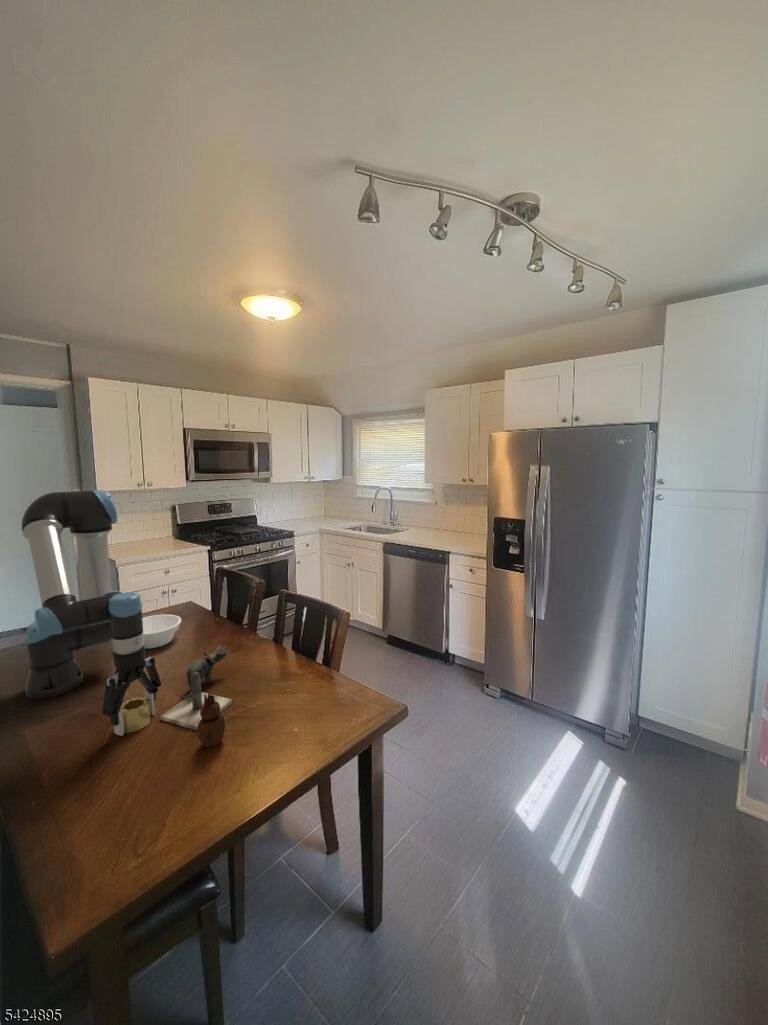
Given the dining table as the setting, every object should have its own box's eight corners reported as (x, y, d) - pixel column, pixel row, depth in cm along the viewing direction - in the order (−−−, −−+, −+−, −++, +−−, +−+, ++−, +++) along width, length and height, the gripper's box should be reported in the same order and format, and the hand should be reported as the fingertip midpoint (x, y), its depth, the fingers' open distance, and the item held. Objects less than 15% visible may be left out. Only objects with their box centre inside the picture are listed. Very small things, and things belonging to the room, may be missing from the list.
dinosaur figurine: (187, 710, 127) (185, 675, 126) (163, 706, 129) (161, 671, 128) (229, 673, 148) (228, 643, 147) (208, 671, 150) (207, 641, 149)
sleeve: (114, 728, 118) (112, 708, 117) (137, 714, 125) (136, 695, 124) (133, 734, 115) (131, 714, 115) (155, 719, 122) (154, 700, 121)
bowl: (166, 654, 162) (164, 634, 161) (112, 654, 162) (110, 634, 161) (191, 632, 183) (190, 614, 182) (143, 632, 183) (142, 614, 182)
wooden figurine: (207, 754, 108) (204, 700, 106) (194, 746, 111) (190, 693, 109) (230, 739, 113) (227, 687, 111) (216, 732, 116) (213, 681, 114)
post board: (160, 719, 122) (157, 679, 120) (197, 694, 135) (195, 657, 133) (198, 730, 117) (195, 688, 115) (232, 703, 130) (230, 665, 128)
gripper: (100, 669, 105) (107, 751, 108) (171, 635, 126) (176, 704, 129) (79, 664, 108) (87, 744, 111) (153, 631, 128) (158, 700, 131)
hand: (135, 723), depth 120 cm, fingers open, 9 cm apart
